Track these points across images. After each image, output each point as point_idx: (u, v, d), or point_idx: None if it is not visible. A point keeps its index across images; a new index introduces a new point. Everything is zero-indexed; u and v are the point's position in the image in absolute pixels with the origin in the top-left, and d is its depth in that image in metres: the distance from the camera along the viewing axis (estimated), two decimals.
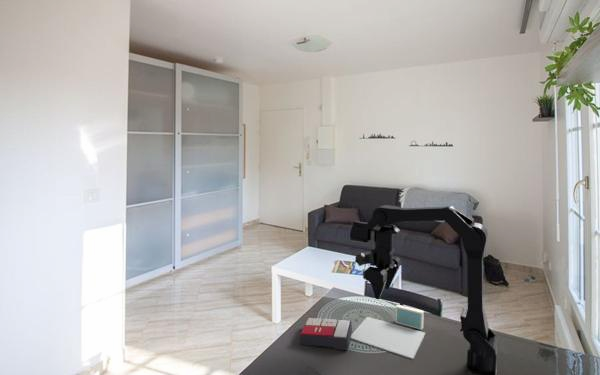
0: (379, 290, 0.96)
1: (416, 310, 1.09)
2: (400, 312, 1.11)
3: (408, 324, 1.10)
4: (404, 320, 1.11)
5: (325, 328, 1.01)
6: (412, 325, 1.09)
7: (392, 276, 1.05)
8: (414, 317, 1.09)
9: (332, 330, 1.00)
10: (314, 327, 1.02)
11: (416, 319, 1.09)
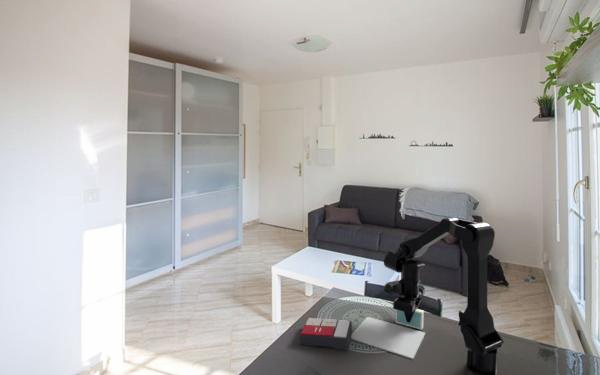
0: (410, 314, 1.08)
1: (416, 310, 1.09)
2: (400, 312, 1.11)
3: (408, 324, 1.10)
4: (404, 320, 1.11)
5: (325, 328, 1.01)
6: (412, 324, 1.09)
7: None
8: (414, 317, 1.09)
9: (332, 330, 1.00)
10: (314, 327, 1.02)
11: (416, 319, 1.09)
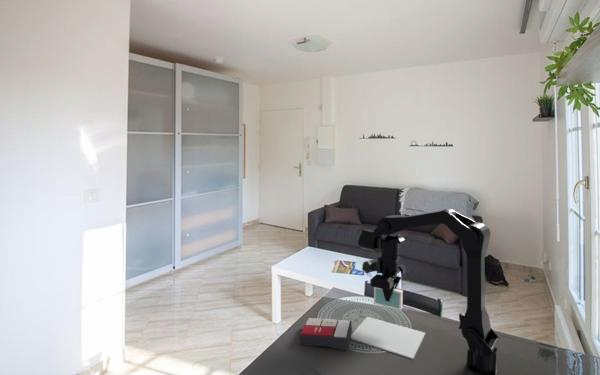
0: (389, 293, 1.03)
1: (395, 290, 1.04)
2: (379, 292, 1.07)
3: (387, 304, 1.05)
4: (383, 301, 1.06)
5: (325, 328, 1.01)
6: (391, 305, 1.05)
7: (394, 287, 1.06)
8: (392, 297, 1.04)
9: (332, 330, 1.00)
10: (314, 327, 1.02)
11: (395, 299, 1.04)
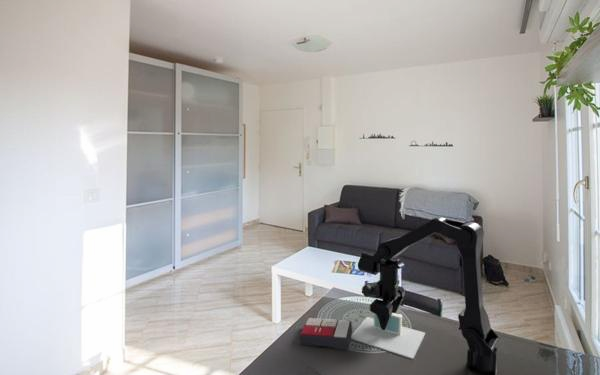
0: (385, 322, 1.01)
1: (394, 314, 1.05)
2: None
3: (386, 329, 1.06)
4: None
5: (325, 328, 1.01)
6: (391, 329, 1.05)
7: (396, 306, 1.10)
8: (392, 322, 1.05)
9: (332, 330, 1.00)
10: (314, 327, 1.02)
11: (394, 324, 1.05)
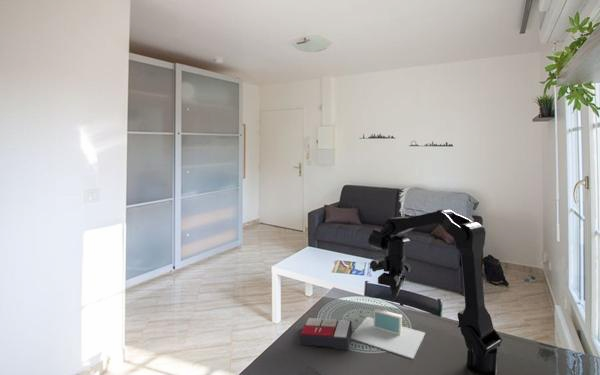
0: (396, 289, 1.10)
1: (394, 314, 1.05)
2: (378, 316, 1.07)
3: (386, 329, 1.06)
4: (382, 325, 1.07)
5: (325, 328, 1.01)
6: (391, 329, 1.05)
7: None
8: (392, 322, 1.05)
9: (332, 330, 1.00)
10: (314, 327, 1.02)
11: (394, 324, 1.05)
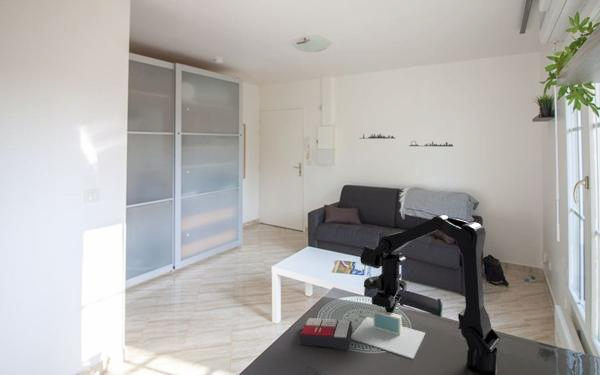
0: (391, 309, 1.06)
1: (394, 315, 1.04)
2: (378, 317, 1.07)
3: (386, 329, 1.06)
4: (382, 325, 1.07)
5: (325, 328, 1.01)
6: (390, 329, 1.05)
7: None
8: (392, 322, 1.05)
9: (332, 330, 1.00)
10: (314, 327, 1.02)
11: (394, 324, 1.04)
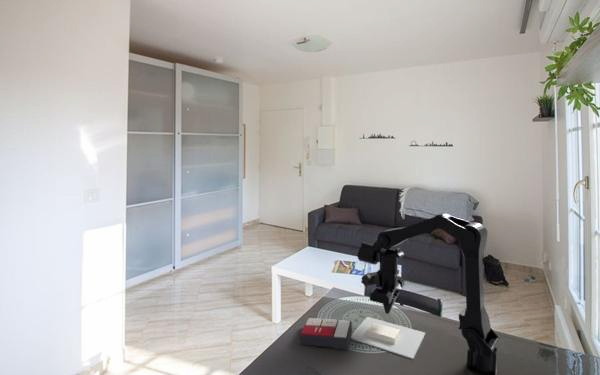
0: (389, 305, 1.05)
1: (387, 339, 1.00)
2: None
3: None
4: None
5: (325, 328, 1.01)
6: None
7: None
8: None
9: (332, 330, 0.99)
10: (314, 327, 1.02)
11: None
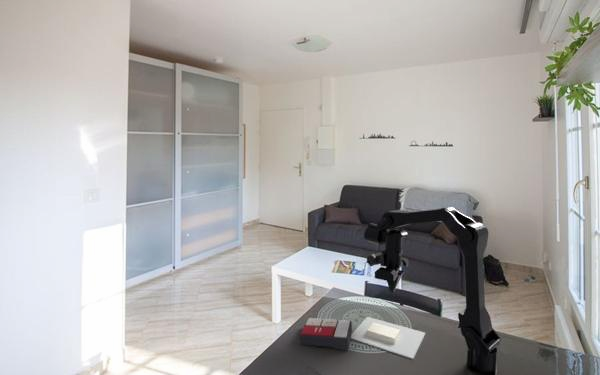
0: (393, 284, 1.07)
1: (387, 339, 1.00)
2: None
3: None
4: None
5: (325, 328, 1.01)
6: None
7: None
8: None
9: (332, 330, 0.99)
10: (314, 327, 1.02)
11: None
